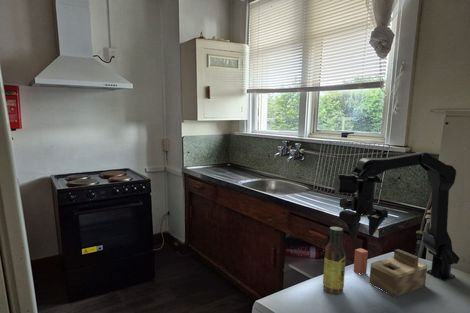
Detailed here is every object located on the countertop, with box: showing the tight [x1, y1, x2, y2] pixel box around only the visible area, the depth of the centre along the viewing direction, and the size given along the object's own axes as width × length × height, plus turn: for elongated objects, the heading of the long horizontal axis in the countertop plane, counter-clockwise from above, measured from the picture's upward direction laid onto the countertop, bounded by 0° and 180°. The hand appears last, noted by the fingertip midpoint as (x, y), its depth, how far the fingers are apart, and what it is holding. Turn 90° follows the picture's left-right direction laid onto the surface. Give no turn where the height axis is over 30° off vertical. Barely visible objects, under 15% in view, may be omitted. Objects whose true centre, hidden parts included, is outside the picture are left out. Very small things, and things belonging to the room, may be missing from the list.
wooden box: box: [368, 265, 428, 298], centre depth 99 cm, size 16×9×6 cm, turn 118°
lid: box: [370, 248, 428, 278], centre depth 99 cm, size 16×9×4 cm, turn 118°
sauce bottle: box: [322, 226, 346, 295], centre depth 94 cm, size 7×6×20 cm
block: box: [353, 247, 369, 275], centre depth 108 cm, size 3×3×8 cm
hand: (361, 238), depth 107 cm, fingers open, 9 cm apart
